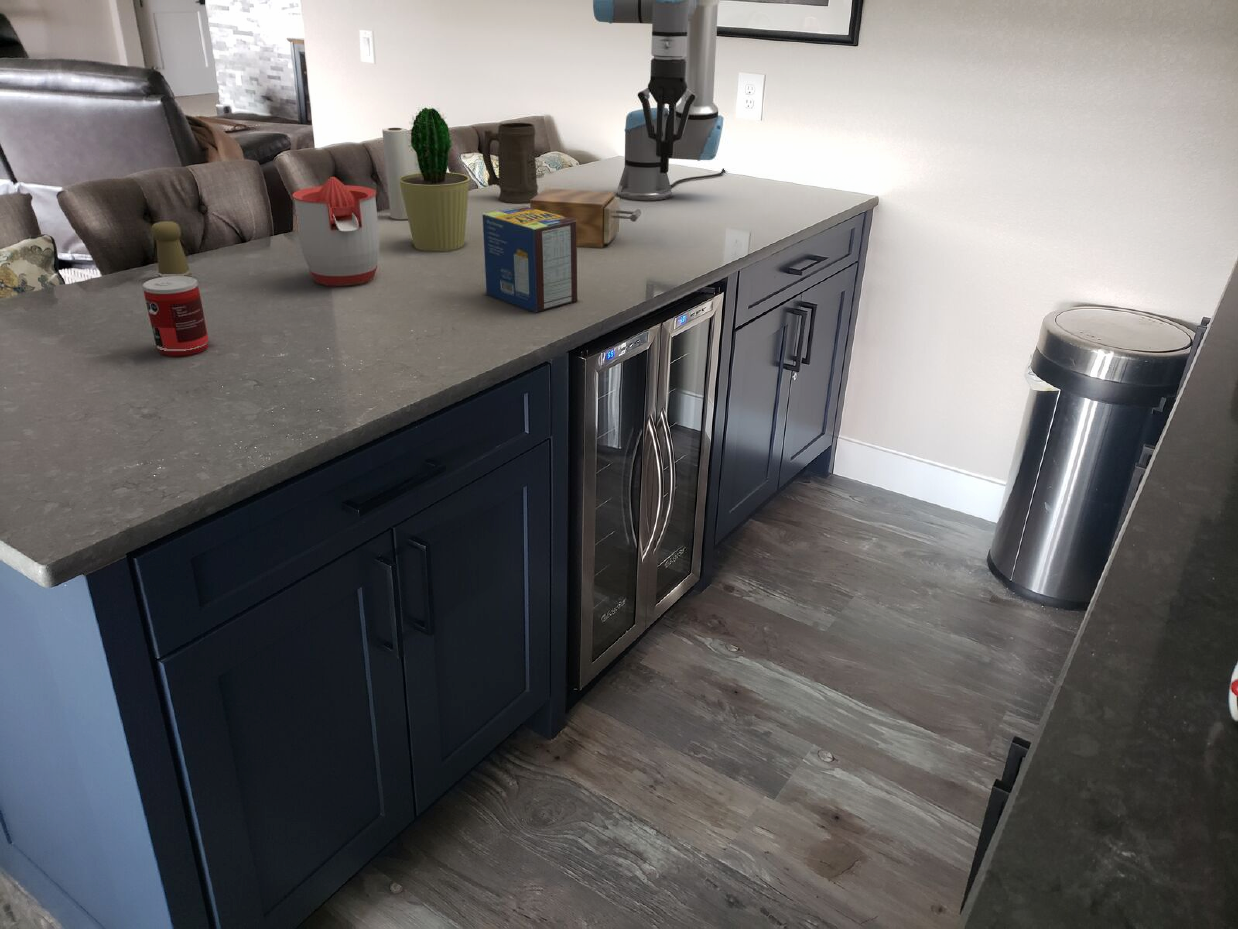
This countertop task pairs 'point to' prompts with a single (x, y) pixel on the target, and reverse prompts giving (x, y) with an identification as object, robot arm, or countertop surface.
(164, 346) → the canned food
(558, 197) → the cabinet
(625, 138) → the robot arm
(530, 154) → the beer stein
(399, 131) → the paper towel roll
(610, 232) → the wooden drawer
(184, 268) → the cork
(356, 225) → the citrus juicer
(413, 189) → the potted cactus
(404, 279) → the countertop surface
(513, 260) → the protein box
